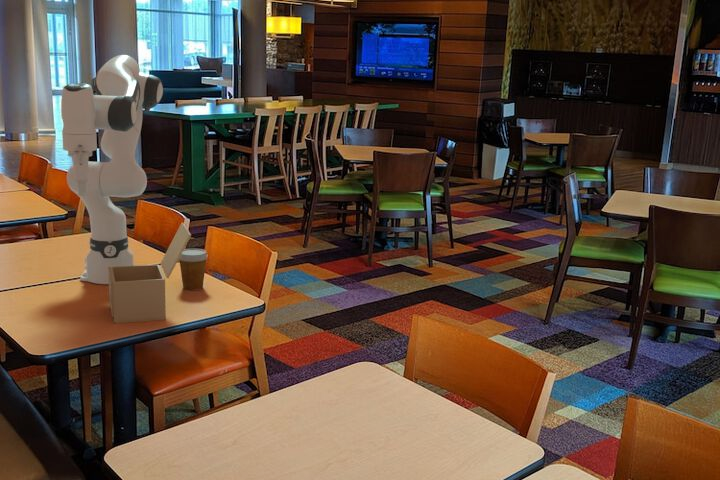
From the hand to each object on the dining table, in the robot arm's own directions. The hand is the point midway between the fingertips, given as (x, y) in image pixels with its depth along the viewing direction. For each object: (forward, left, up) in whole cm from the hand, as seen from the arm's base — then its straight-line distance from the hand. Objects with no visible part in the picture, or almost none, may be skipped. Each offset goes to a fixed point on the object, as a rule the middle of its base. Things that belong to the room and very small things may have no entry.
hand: (82, 192), depth 211 cm
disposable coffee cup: (-17, +33, -35) cm, 51 cm away
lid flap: (+4, +25, -17) cm, 30 cm away
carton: (+4, +14, -35) cm, 38 cm away
